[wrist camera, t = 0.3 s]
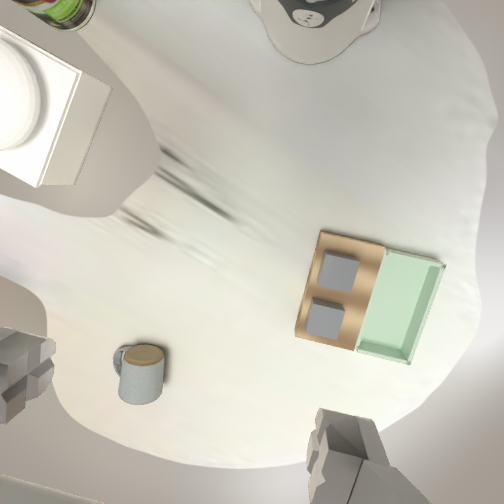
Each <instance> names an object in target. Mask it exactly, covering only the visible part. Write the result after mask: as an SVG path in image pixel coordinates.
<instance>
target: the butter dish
mask: <svg viewBox="0 0 504 504" xmlns="http://www.w3.org/2000/svg"><path fill="white" fill-rule="evenodd" d="M112 90H113V88H112V87H111V86H109V85H107V84H105V83H103V82H101V81H100V80H98V79H96V78H94V77H92V76H90V75H88V74H87V73H85V72H83V71H82V70H80V69H78V68H76V67H74V66H73V65H71V64H69V63H67V62H66V61H64V60H62V59H60V58H58V57H56V56H55V55H53V54H51V53H50V52H48V51H46V50H44V49H42V48H41V47H39V46H37V45H35V44H34V43H32V42H30V41H28V40H27V39H25V38H23V37H21V36H20V35H18V34H16V33H14V32H12V31H10V30H9V29H7V28H5V27H3V26H1V25H0V168H1V169H3V170H5V171H7V172H9V173H11V174H12V175H14V176H16V177H18V178H19V179H21V180H23V181H25V182H27V183H28V184H30V185H32V186H34V187H35V188H37V187H38V188H39V186H40V185H76V182H77V179H78V177H79V174H80V172H81V169H82V167H83V164H84V162H85V159H86V156H87V154H88V152H89V149H90V146H91V144H92V141H93V138H94V136H95V134H96V131H97V129H98V126H99V124H100V121H101V119H102V116H103V113H104V111H105V108H106V106H107V103H108V101H109V98H110V96H111V93H112Z"/></svg>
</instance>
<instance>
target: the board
mask: <svg viewBox="0 0 504 504" xmlns="http://www.w3.org/2000/svg"><path fill="white" fill-rule="evenodd" d="M385 249H386V248H385V247H384V246H382V245H381V244H377V243H373V242H368V241H364V240H359V239H355V238H350V237H346V236H341V235H337V234H332V233H328V232H324V231H320V234H319V237H318V241H317V245H316V249H315V253H314V257H313V260H312V264H311V268H310V272H309V276H308V280H307V283H306V287H305V291H304V295H303V299H302V302H301V306H300V310H299V314H298V318H297V322H296V325H295V337H299V338H303V339H307V340H311V341H315V342H319V343H323V344H327V345H331V346H336V347H340V348H344V349H348V350H352V351H354V349H355V345H356V342H357V339H358V336H359V333H360V329H361V326H362V323H363V320H364V317H365V313H366V310H367V307H368V304H369V301H370V297H371V294H372V291H373V288H374V285H375V281H376V278H377V275H378V272H379V269H380V265H381V262H382V259H383V256H384V253H385ZM324 250H325V251H330V252H334V253H339V254H343V255H347V256H352V257H356V258H357V259H358V260H359V261H360V263H359V267H358V270H357V273H356V277H355V280H354V284H353V287H352V290H351V293H348V292H343V291H339V290H335V289H331V288H326V287H322V286H318V284H317V280H316V279H317V276H318V272H319V268H320V265H321V261H322V257H323V253H324ZM312 297H314V298H318V299H322V300H327V301H331V302H335V303H339V304H342V305H343V307H344V309H345V314H344V317H343V321H342V324H341V327H340V331H339V334H338V338H337V340H333V339H329V338H325V337H321V336H317V335H313V334H309V333H305V326H304V324H305V321H306V317H307V313H308V309H309V306H310V302H311V298H312Z"/></svg>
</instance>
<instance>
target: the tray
mask: <svg viewBox="0 0 504 504" xmlns="http://www.w3.org/2000/svg"><path fill="white" fill-rule="evenodd" d="M445 267H446V265H445V264H444V263H442V262H440V261H438V260H436V259H433V258H429V257H424V256H420V255H415V254H411V253H406V252H402V251H397V250H393V249H388V248H386V249H385V253H384V256H383V259H382V262H381V265H380V269H379V272H378V275H377V278H376V281H375V285H374V288H373V291H372V294H371V297H370V301H369V304H368V307H367V310H366V313H365V317H364V320H363V323H362V326H361V329H360V333H359V336H358V339H357V342H356V345H355V349H356V350H357V352H358V353H362V354H367V355H371V356H375V357H379V358H383V359H387V360H391V361H395V362H399V363H403V364H408V365H410V364H411V361H412V359H413V356H414V353H415V350H416V348H417V345H418V342H419V339H420V336H421V334H422V331H423V328H424V325H425V323H426V320H427V317H428V314H429V312H430V309H431V306H432V303H433V300H434V298H435V295H436V292H437V289H438V287H439V284H440V281H441V278H442V275H443V273H444V270H445Z"/></svg>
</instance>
